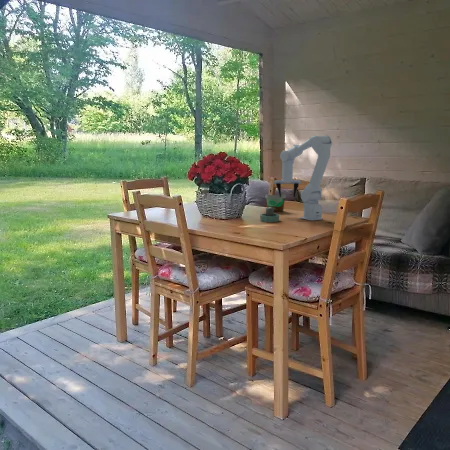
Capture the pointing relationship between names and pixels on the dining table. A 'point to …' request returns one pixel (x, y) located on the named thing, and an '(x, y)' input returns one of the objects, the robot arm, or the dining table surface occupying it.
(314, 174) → the robot arm
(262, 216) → the green short cylinder
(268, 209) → the cell
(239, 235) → the dining table surface
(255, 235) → the dining table surface
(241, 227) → the dining table surface
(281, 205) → the food container
